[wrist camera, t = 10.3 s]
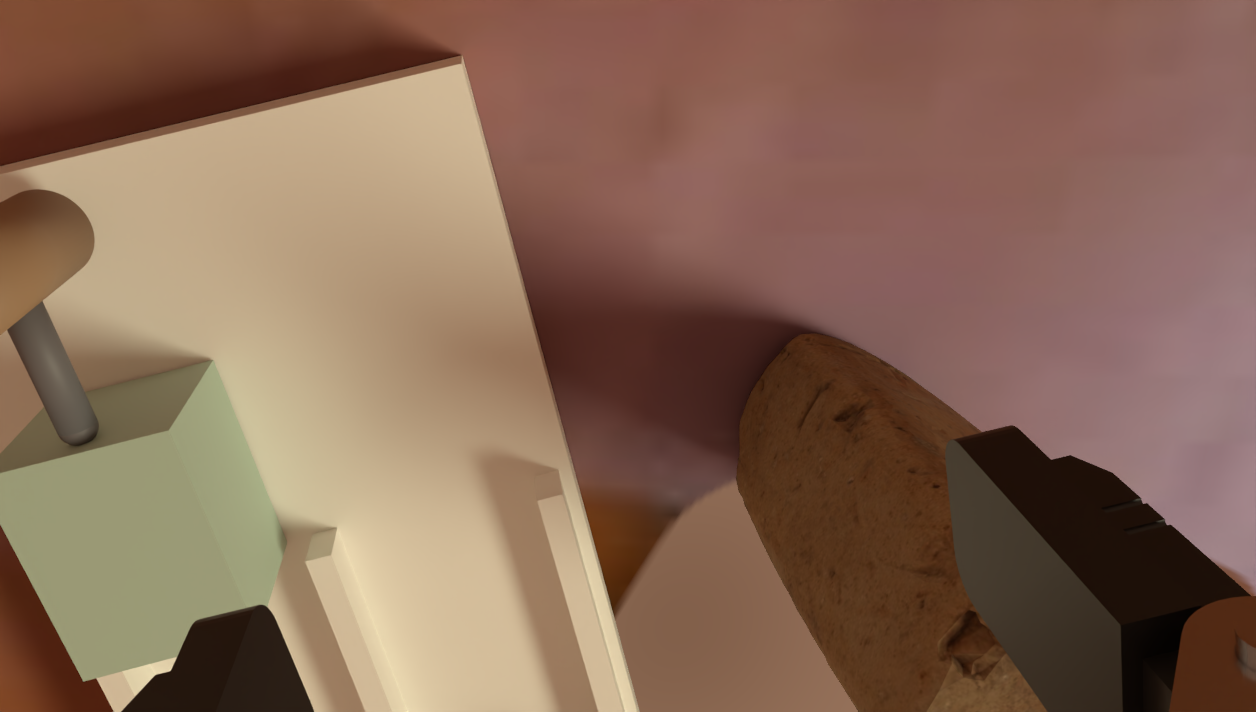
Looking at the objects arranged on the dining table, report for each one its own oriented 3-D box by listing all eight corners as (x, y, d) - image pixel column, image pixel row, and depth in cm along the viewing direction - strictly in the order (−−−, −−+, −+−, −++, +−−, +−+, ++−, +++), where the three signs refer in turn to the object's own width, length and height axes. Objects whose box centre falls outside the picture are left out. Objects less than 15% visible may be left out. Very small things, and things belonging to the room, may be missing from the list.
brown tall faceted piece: (697, 445, 45) (851, 784, 27) (789, 299, 44) (1021, 557, 25) (892, 537, 49) (1149, 897, 30) (985, 405, 47) (1320, 703, 28)
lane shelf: (-83, 186, 37) (-221, 244, 30) (462, 55, 38) (459, 80, 31) (235, 832, 50) (194, 987, 42) (642, 721, 50) (671, 853, 43)
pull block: (-47, 202, 35) (-222, 288, 26) (131, 159, 35) (18, 229, 26) (136, 582, 41) (43, 755, 32) (287, 542, 41) (237, 704, 32)
